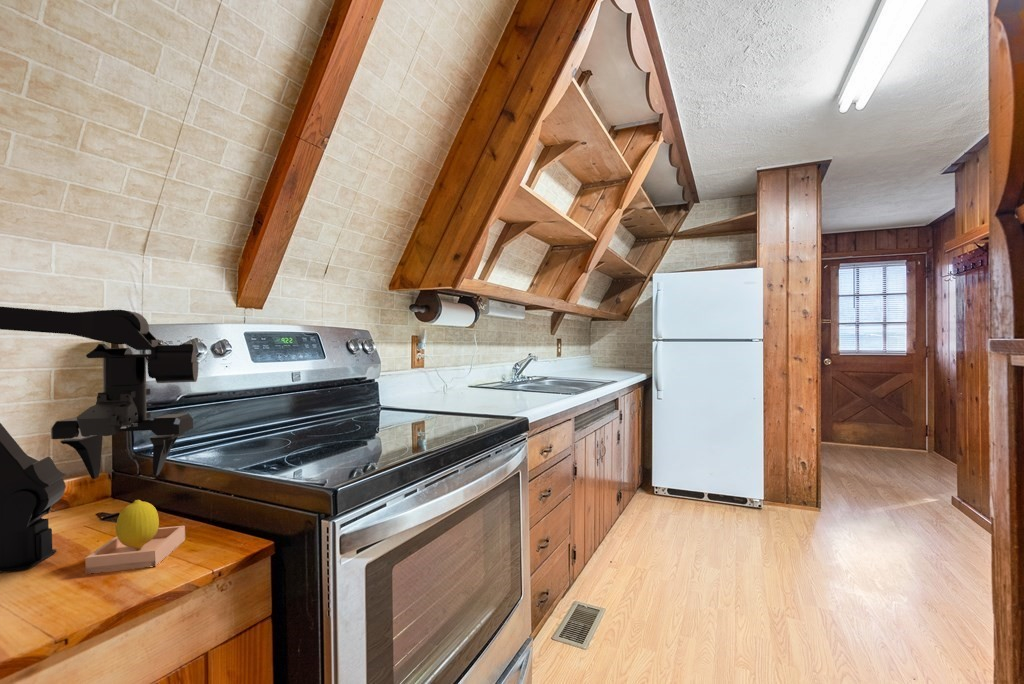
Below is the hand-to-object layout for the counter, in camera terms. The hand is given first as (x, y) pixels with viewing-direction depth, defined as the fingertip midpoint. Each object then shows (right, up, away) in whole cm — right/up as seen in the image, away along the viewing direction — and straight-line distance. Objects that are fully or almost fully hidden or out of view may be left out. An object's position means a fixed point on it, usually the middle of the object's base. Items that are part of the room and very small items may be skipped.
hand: (126, 476), depth 83 cm
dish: (+5, -12, -4) cm, 13 cm away
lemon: (+5, -11, -4) cm, 12 cm away
